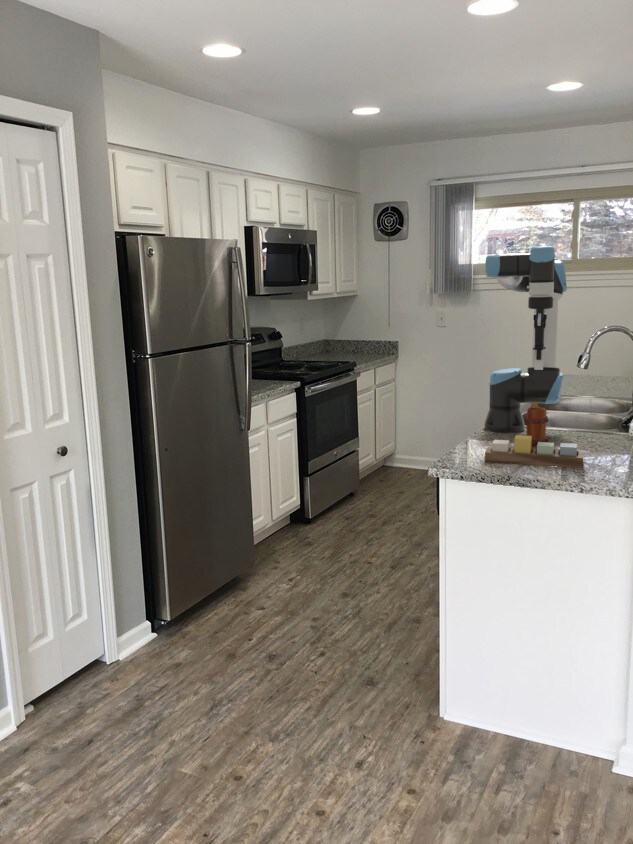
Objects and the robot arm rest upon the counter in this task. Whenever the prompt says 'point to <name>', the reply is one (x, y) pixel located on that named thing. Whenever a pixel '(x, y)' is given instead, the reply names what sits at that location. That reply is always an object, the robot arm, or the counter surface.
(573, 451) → the key slate
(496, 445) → the key cream
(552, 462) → the keypad board
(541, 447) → the key sage
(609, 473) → the counter surface
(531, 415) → the orange bottle
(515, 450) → the key mustard
